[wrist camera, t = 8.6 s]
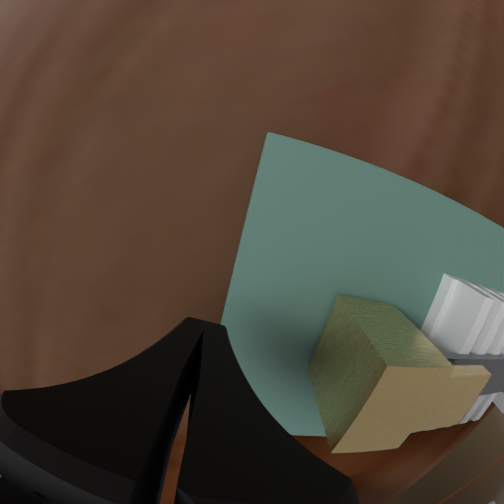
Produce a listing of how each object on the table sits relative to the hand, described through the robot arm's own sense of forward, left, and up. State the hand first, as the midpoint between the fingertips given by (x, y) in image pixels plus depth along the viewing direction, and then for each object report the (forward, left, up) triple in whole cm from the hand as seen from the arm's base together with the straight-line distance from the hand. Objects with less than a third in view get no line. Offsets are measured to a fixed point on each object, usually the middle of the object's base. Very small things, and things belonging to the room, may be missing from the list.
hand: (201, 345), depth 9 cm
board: (0, -13, -4) cm, 13 cm away
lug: (0, -8, -3) cm, 9 cm away
